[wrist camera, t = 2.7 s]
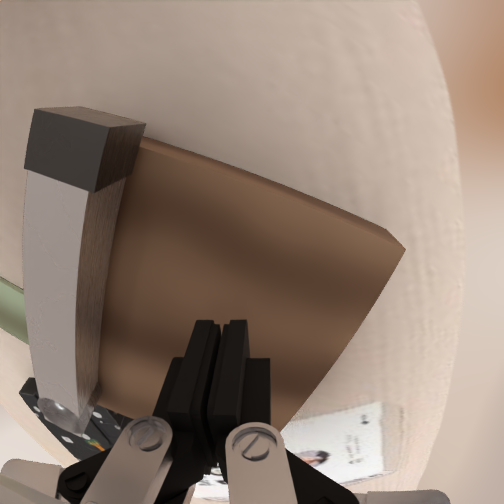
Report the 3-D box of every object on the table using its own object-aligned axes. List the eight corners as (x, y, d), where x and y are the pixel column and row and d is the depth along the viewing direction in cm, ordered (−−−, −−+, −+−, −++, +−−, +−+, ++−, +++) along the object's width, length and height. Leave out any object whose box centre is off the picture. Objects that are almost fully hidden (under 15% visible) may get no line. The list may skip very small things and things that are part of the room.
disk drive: (29, 372, 22) (103, 461, 27) (15, 392, 19) (96, 479, 25) (114, 376, 21) (182, 470, 26) (100, 402, 18) (177, 491, 24)
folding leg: (101, 405, 17) (86, 440, 14) (59, 386, 17) (41, 417, 14) (148, 124, 10) (112, 128, 8) (79, 106, 10) (32, 108, 7)
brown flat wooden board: (-51, 93, 11) (-75, 96, 9) (386, 229, 15) (406, 249, 12) (-50, 288, 18) (-66, 301, 16) (260, 427, 21) (260, 453, 19)
